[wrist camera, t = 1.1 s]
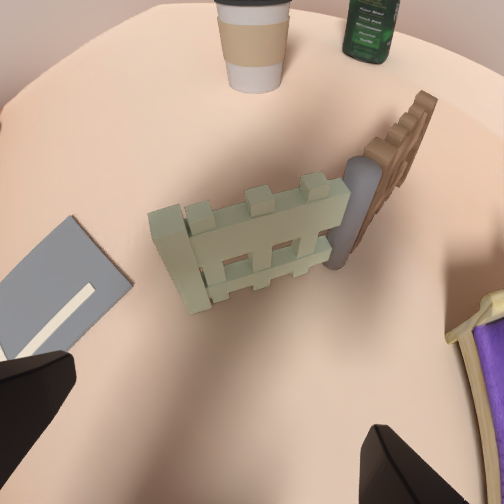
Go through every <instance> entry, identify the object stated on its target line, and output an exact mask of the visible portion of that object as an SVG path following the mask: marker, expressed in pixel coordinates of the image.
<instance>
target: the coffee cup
mask: <svg viewBox="0 0 504 504" xmlns="http://www.w3.org/2000/svg"><path fill="white" fill-rule="evenodd" d="M214 1H215V2H216V5H217V11H218V17H217V20H218V26H219V32H220V38H221V44H222V50H223V56H224V59H225V60H226V67H227V73H228V79H229V85H230V86H231V87H232V88H233V89H234V90H237V91H239V92H243V93H251V94H258V93H266V92H270V91H273V90H275V89H277V88H278V87H279V86H280V83H281V75H282V66H283V59H284V58H285V51H286V43H287V35H288V27H289V19H290V16H289V8H290V1H292V0H214Z"/></svg>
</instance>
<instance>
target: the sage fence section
mask: <svg viewBox="0 0 504 504" xmlns="http://www.w3.org/2000/svg"><path fill="white" fill-rule="evenodd" d="M381 176H382V170H381V168H380V166H379V165H378V164H377V163H376V162H375V161H373V160H372V159H370V158H367V157H363V156H356V157H352V158H351V159H349V160H348V162H347V165H346V169H345V173H344V177H343V180H342V179H341V177H340V178H336V179H331V180H328V179H327V178H326V176H325V175H324V173H323V172H322V171H319V172H315V173H311V174H306V175H302V176H301V180H300V187H299V188H295V189H291V190H287V191H283V192H280V193H276V194H273V193H272V191H271V189H270V187H269V186H268V184H266V185H262V186H258V187H254V188H250V189H247V190H244V192H245V202H242V203H239V204H235V205H231V206H228V207H224V208H221V209H217V210H214V211H212V209H211V206H210V203H209V200H207V201H203V202H200V203H196V204H193V205H189V206H186V207H184V208H185V212H186V215H187V218H186V219H184V218H183V215H182V212H181V209H180V205H179V204H176V205H173V206H170V207H166V208H163V209H160V210H157V211H153V212H150V213H148V219H149V224H150V230H151V235H152V240H153V242H154V244H155V246H156V248H157V250H158V252H159V254H160V256H161V258H162V260H163V262H164V264H165V266H166V268H167V270H168V272H169V274H170V276H171V278H172V280H173V282H174V284H175V286H176V288H177V290H178V292H179V294H180V296H181V298H182V300H183V301H184V303H185V305H186V307H187V309H188V311H189V313H190V315H191V314H194V313H197V312H201V311H204V310H207V309H210V308H212V306H211V303H210V300H209V299H210V298H212V300H213V303H217V302H220V301H223V300H226V299H230V297H229V292H233V291H236V290H239V289H242V288H245V287H249V286H252V287H253V290H254V291H255V290H258V289H261V288H264V287H267V286H270V279H274V278H277V277H280V276H283V275H286V274H289V273H291V275H292V277H293V278H295V277H298V276H301V275H304V274H307V273H308V271H309V267H310V266H313V265H316V264H319V263H323V264H324V265H325V266H326V267H327V268H329V269H333V270H336V269H340V268H342V267H343V266H344V265H345V263H346V260H347V258H348V256H349V254H350V251H351V249H352V247H353V245H354V242H355V240H356V238H357V235H358V233H359V231H360V228H361V226H362V223H363V221H364V219H365V216H366V214H367V211H368V209H369V206H370V204H371V201H372V199H373V196H374V194H375V191H376V189H377V186H378V184H379V181H380V178H381ZM326 229H329V230H328V233H327V237H326V236H325V235H323V236H319V237H318V233H319V232H320V231H323V230H326ZM290 240H292V243H291V245H290V246H287V247H284V248H280V249H277V250H274V251H272V246H273V245H277V244H280V243H283V242H287V241H290ZM247 253H248V259H244V260H241V261H238V262H234V263H231V264H228V265H225V266H223V261H224V260H227V259H231V258H234V257H237V256H240V255H244V254H247ZM201 267H202V269H203V272H202V273H201V272H200V269H199V268H201Z"/></svg>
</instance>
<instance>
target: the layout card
mask: <svg viewBox="0 0 504 504" xmlns="http://www.w3.org/2000/svg"><path fill="white" fill-rule="evenodd" d="M132 287H133V286H132V285H131V284H130V283H129V281H128V280H127V279H126V278H125V277H124V276H123V275H122V274H121V273H120V272H119V271H118V270H117V269H116V267H115V266H114V265H113V264H112V263H111V262H110V261H109V260H108V259H107V257H106V256H105V255H104V254H103V253H102V252H101V251H100V250H99V248H98V247H97V246H96V245H95V244H94V243H93V242H92V240H91V239H90V238H89V237H88V236H87V235H86V233H85V232H84V231H83V230H82V229H81V228H80V226H79V225H78V224H77V223H76V222H75V220H74V219H73V218H72V217H71V215H70V216H69V217H67V218H66V219H65V220H64V221H63V222H62V223H61V224H60V225H58V226H57V227H56V228H55V229H54V230H53V231H52V232H51V233H50V234H49V235H48V236H46V237H45V238H44V239H43V240H42V241H41V242H40V243H39V244H38V245H37V246H36V247H35V248H34V249H33V250H32V251H31V252H30V253H29V254H28V255H27V256H26V257H25V258H24V259H23V260H22V261H21V262H20V263H19V264H18V265H17V266H16V267H15V268H14V269H13V270H12V271H11V272H10V273H9V274H8V275H7V276H6V277H5V278H4V279H3V280H2V282H1V283H0V361H6V360H11V359H17V358H22V357H27V356H33V355H38V354H43V353H48V352H53V351H58V350H63V351H65V352H67V351H68V350H69V349H70V348H71V347H72V346H73V345H74V344H75V343H76V342H77V341H78V340H79V339H80V338H81V337H82V336H83V335H84V334H85V333H86V332H87V331H88V330H89V329H90V328H91V327H92V326H93V325H94V324H95V323H96V322H97V321H98V320H99V319H100V318H101V317H102V316H103V315H104V314H105V313H106V312H107V311H108V310H109V309H110V308H111V307H112V306H114V305H115V304H116V303H117V302H118V301H119V300H120V299H121V298H122V297H123V296H124V295H125V294H126V293H127V292H128V291H129V290H130V289H131V288H132Z"/></svg>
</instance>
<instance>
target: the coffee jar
mask: <svg viewBox="0 0 504 504" xmlns="http://www.w3.org/2000/svg"><path fill="white" fill-rule="evenodd" d="M399 4H400V0H350V3H349V11H348V18H347V25H346V31H345V37H344V43H343V51H344V52H345V53H346V54H348V55H350V56H352V57H354V58H355V59H357V60H360V61H363V62H372V63H377V64H380V63H383V62H384V61H385V60H386V59H387V57H388V54H389V50H390V46H391V41H392V37H393V32H394V28H395V24H396V19H397V14H398V10H399Z"/></svg>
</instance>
